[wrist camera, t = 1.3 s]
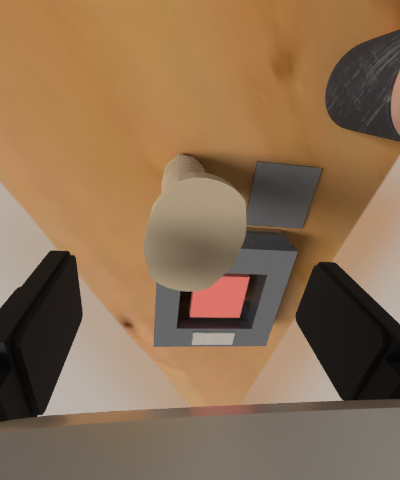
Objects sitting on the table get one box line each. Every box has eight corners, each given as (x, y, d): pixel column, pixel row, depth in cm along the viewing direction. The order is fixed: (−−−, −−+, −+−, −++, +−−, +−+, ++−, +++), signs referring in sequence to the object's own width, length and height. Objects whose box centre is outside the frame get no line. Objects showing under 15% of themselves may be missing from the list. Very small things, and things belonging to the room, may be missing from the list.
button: (194, 268, 28) (195, 275, 27) (246, 270, 29) (249, 277, 28) (189, 309, 31) (189, 317, 30) (237, 310, 32) (239, 317, 31)
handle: (215, 144, 25) (264, 194, 12) (195, 204, 28) (218, 297, 15) (167, 128, 24) (163, 164, 11) (151, 192, 27) (133, 282, 14)
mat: (257, 161, 26) (258, 162, 26) (320, 167, 27) (322, 168, 27) (243, 223, 30) (244, 224, 29) (300, 227, 31) (302, 228, 30)
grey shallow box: (160, 222, 28) (158, 245, 24) (279, 229, 30) (298, 252, 26) (155, 315, 35) (153, 348, 30) (254, 316, 37) (266, 347, 32)
